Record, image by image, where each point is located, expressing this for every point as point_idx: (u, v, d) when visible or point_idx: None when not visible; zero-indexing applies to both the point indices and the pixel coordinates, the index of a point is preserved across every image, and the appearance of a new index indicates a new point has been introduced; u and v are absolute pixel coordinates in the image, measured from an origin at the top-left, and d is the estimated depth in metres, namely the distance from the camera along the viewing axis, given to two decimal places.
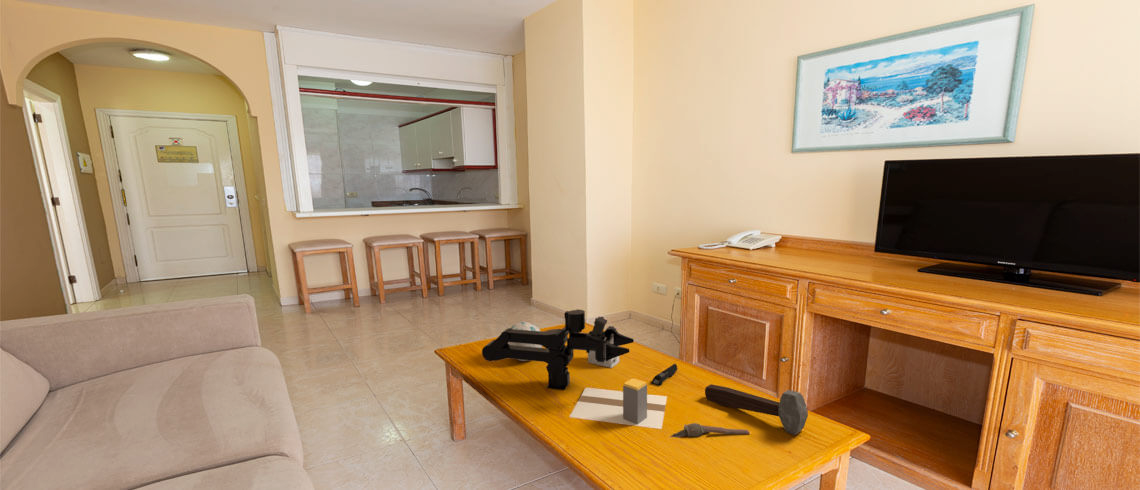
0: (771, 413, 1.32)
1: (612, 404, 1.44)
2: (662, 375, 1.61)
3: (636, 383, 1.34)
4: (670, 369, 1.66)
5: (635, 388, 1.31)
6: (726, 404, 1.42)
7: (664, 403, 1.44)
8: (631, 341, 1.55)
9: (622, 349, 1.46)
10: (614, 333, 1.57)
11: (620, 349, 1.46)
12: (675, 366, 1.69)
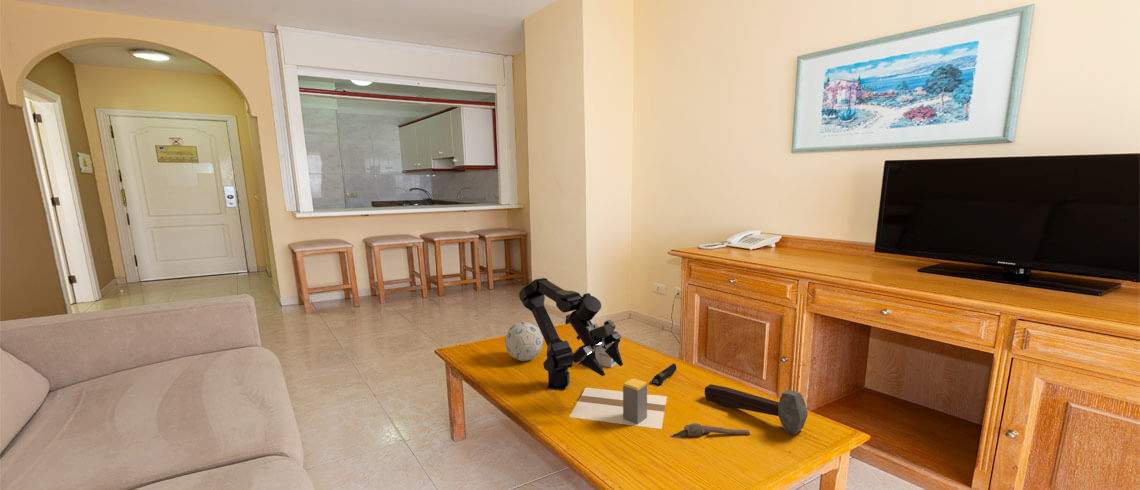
0: (771, 413, 1.32)
1: (612, 404, 1.44)
2: (662, 375, 1.61)
3: (636, 383, 1.34)
4: (669, 369, 1.66)
5: (635, 388, 1.31)
6: (726, 404, 1.42)
7: (664, 403, 1.44)
8: (619, 364, 1.43)
9: (599, 369, 1.35)
10: (613, 344, 1.44)
11: (597, 367, 1.36)
12: (674, 366, 1.69)
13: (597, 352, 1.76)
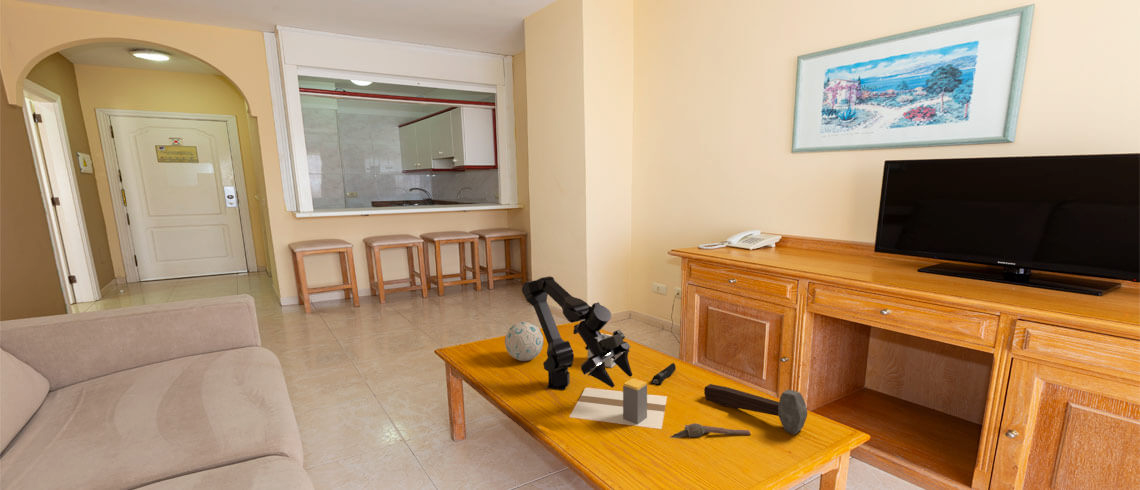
0: (771, 413, 1.32)
1: (612, 404, 1.44)
2: (661, 375, 1.62)
3: (636, 383, 1.34)
4: (669, 368, 1.66)
5: (635, 388, 1.31)
6: (725, 404, 1.42)
7: (664, 403, 1.44)
8: (629, 374, 1.41)
9: (608, 380, 1.33)
10: (623, 354, 1.42)
11: (607, 379, 1.34)
12: (673, 365, 1.69)
13: None
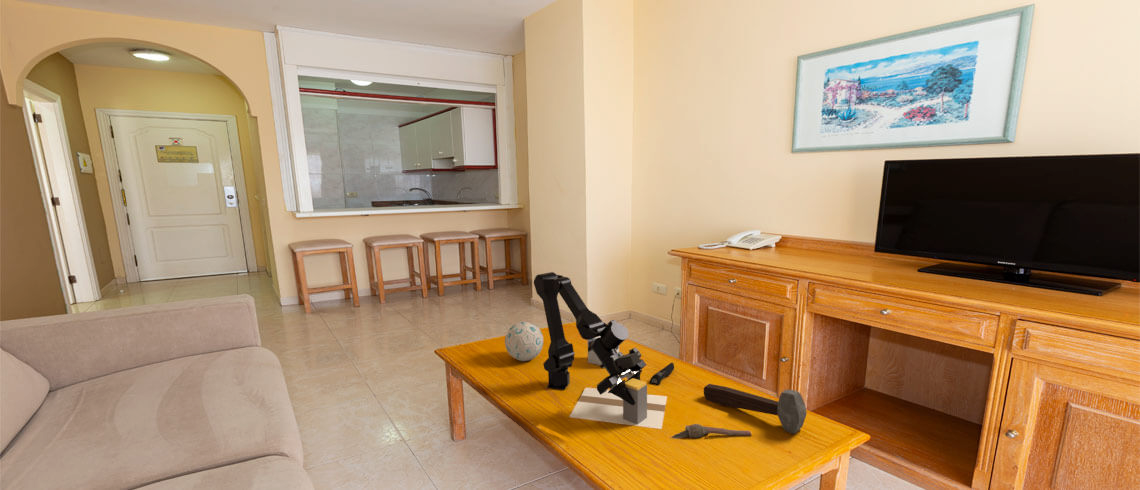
0: (770, 412, 1.32)
1: (612, 404, 1.44)
2: (660, 374, 1.62)
3: (636, 383, 1.34)
4: (667, 368, 1.67)
5: (635, 388, 1.31)
6: (725, 403, 1.43)
7: (664, 403, 1.44)
8: None
9: (629, 398, 1.32)
10: (635, 375, 1.38)
11: (627, 396, 1.32)
12: (672, 365, 1.70)
13: None
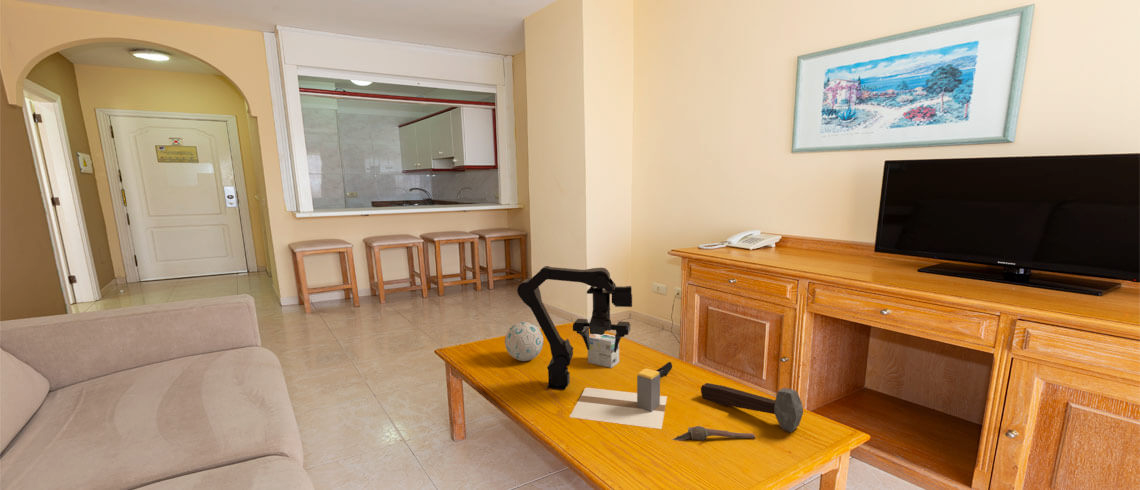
0: (767, 411, 1.33)
1: (612, 404, 1.44)
2: None
3: (650, 373, 1.40)
4: (665, 367, 1.67)
5: (649, 377, 1.38)
6: (722, 402, 1.43)
7: (664, 403, 1.44)
8: None
9: None
10: (615, 335, 1.52)
11: None
12: (670, 364, 1.71)
13: (597, 352, 1.76)
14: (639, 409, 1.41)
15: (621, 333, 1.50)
